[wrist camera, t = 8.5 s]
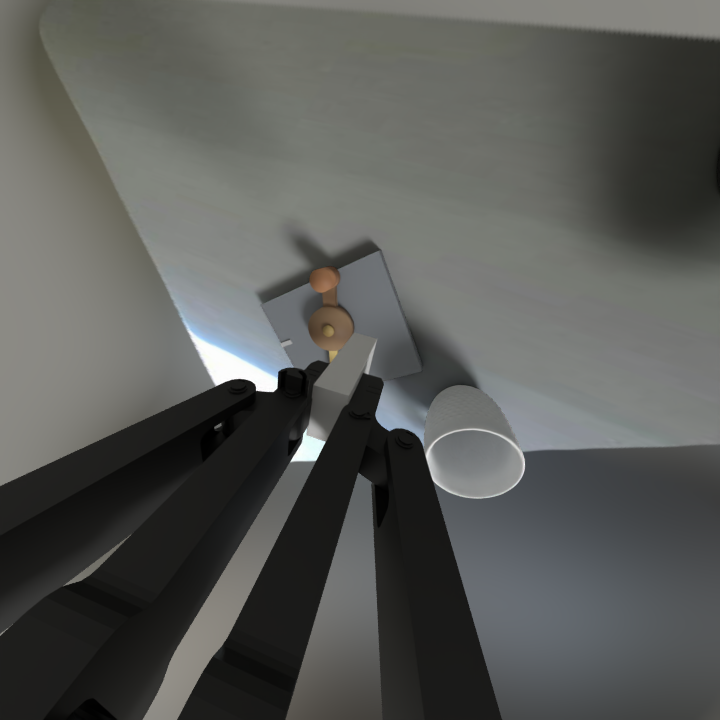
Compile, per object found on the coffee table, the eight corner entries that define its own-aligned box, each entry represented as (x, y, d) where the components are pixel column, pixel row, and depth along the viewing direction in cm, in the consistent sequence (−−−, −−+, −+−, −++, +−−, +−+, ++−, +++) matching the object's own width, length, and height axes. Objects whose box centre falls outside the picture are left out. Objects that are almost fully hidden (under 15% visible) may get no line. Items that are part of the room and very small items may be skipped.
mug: (480, 452, 44) (500, 528, 32) (416, 440, 46) (413, 506, 35) (506, 378, 38) (541, 438, 26) (429, 367, 40) (431, 419, 28)
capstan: (308, 266, 35) (294, 268, 31) (352, 266, 34) (344, 269, 30) (318, 376, 42) (308, 388, 39) (355, 379, 41) (349, 392, 37)
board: (381, 250, 34) (378, 250, 32) (422, 366, 40) (422, 372, 38) (267, 302, 41) (259, 305, 39) (316, 394, 47) (311, 401, 45)
